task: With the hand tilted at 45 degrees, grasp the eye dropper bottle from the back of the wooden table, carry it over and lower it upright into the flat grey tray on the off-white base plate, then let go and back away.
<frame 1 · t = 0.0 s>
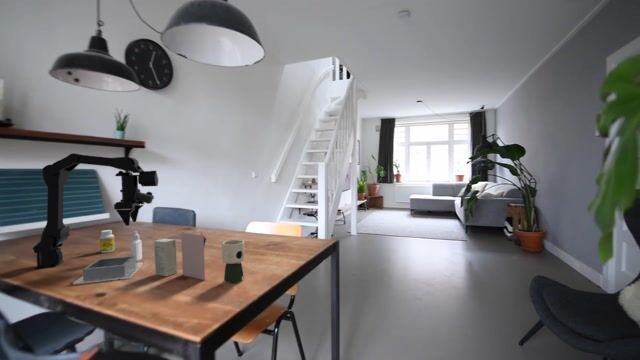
hand: (131, 223, 121), 15 cm above the table, tool pointing down, fingers open, 9 cm apart
eye dropper bottle: (136, 260, 118), on the table
greeting card: (194, 276, 100), on the table
skincare box: (166, 274, 102), on the table
character mug: (234, 281, 95), on the table
supplement bottle: (107, 251, 132), on the table
flat grey tray: (111, 273, 103), on the table
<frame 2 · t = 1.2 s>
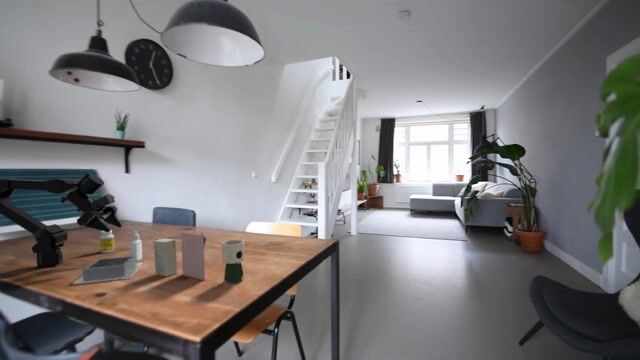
hand: (115, 228, 117), 13 cm above the table, tool tilted 45°, fingers open, 9 cm apart
nothing on the table moved.
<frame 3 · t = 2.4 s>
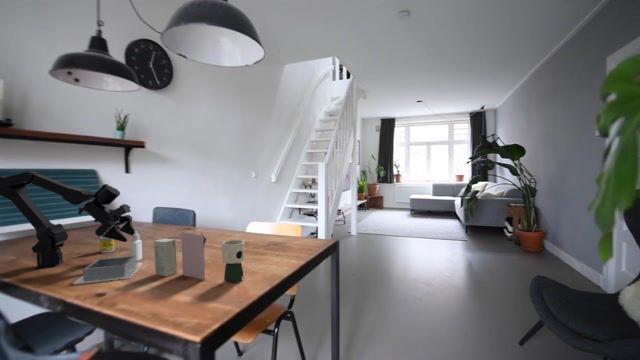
hand: (131, 238, 118), 9 cm above the table, tool tilted 45°, fingers open, 9 cm apart
nothing on the table moved.
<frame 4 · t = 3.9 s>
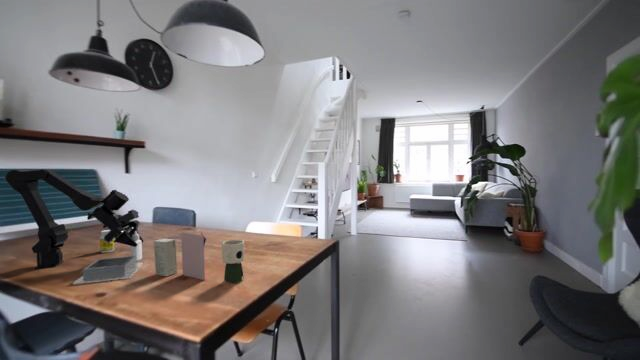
hand: (139, 244, 119), 7 cm above the table, tool tilted 45°, fingers closed on eye dropper bottle, 5 cm apart
eye dropper bottle: (136, 260, 118), on the table, touching gripper
everything else where it was.
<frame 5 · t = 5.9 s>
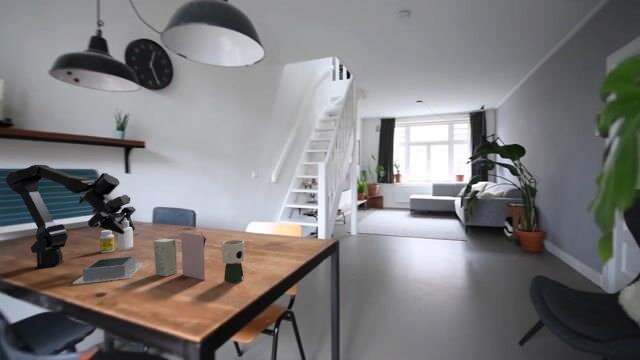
hand: (129, 231, 111), 13 cm above the table, tool tilted 45°, fingers closed on eye dropper bottle, 5 cm apart
eye dropper bottle: (126, 248, 111), point 7 cm above the table, touching gripper
everything else where it was.
when the fingers open (8 cm above the table, at t = 8.4 s): eye dropper bottle stays where it is, resting on flat grey tray.
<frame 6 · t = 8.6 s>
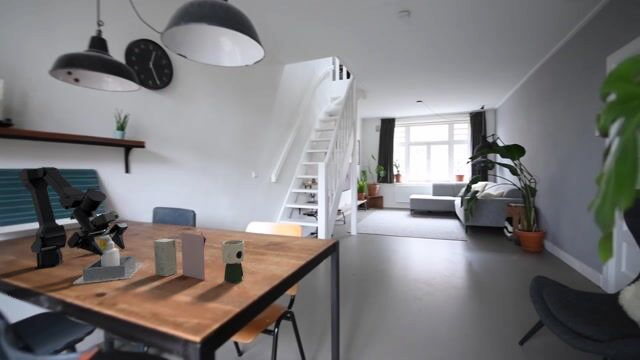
hand: (113, 251, 102), 8 cm above the table, tool tilted 45°, fingers open, 8 cm apart
eye dropper bottle: (110, 272, 103), resting on flat grey tray
everything else where it was.
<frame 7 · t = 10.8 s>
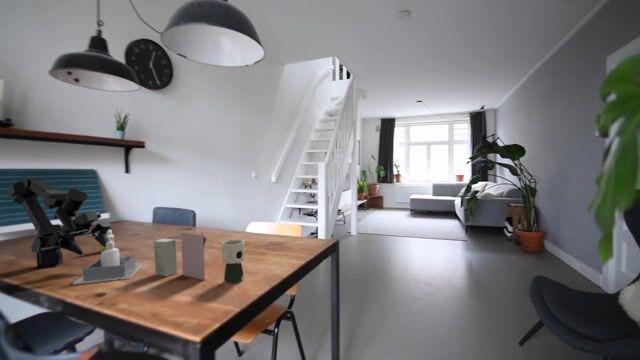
hand: (95, 250, 104), 8 cm above the table, tool tilted 45°, fingers open, 9 cm apart
nothing on the table moved.
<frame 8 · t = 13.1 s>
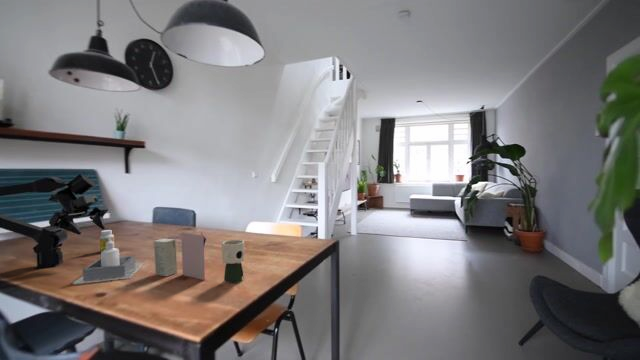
hand: (92, 231, 111), 14 cm above the table, tool tilted 45°, fingers open, 9 cm apart
nothing on the table moved.
at the end: eye dropper bottle 0.2 cm off-centre on the flat grey tray, point 0.4 cm above the flat grey tray's base; eye dropper bottle tilted 0°; the gripper is holding nothing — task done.
